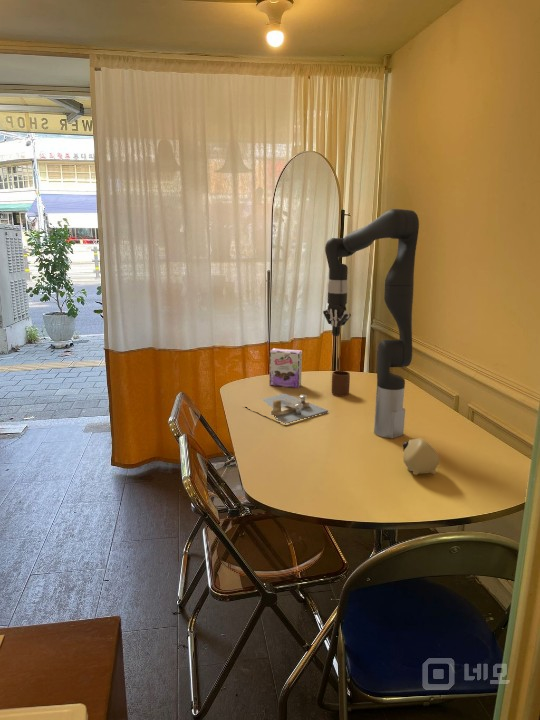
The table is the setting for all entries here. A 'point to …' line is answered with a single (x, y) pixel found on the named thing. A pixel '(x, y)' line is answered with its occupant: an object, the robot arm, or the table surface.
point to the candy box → (285, 367)
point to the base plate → (291, 416)
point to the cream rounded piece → (420, 456)
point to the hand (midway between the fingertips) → (335, 335)
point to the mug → (340, 383)
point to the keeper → (295, 404)
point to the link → (284, 408)
